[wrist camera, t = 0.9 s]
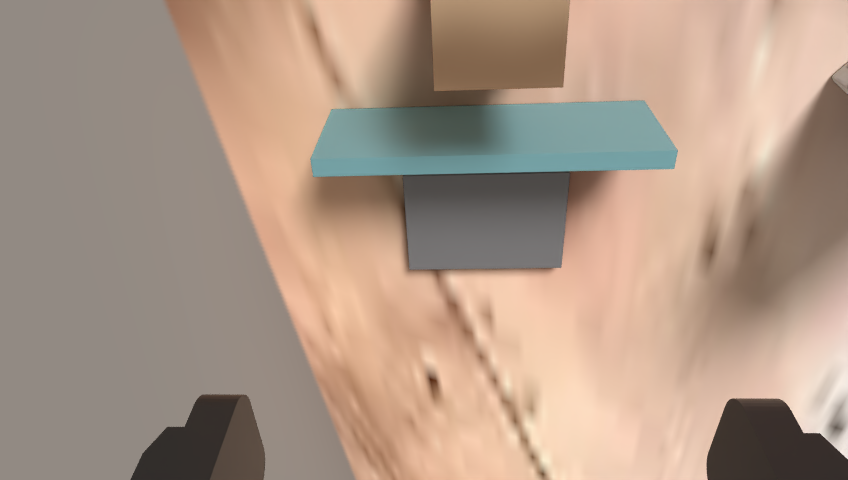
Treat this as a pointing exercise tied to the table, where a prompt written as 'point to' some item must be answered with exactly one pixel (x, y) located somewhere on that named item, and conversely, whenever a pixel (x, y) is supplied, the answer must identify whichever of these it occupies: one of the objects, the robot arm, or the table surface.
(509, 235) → the dark gray upright panel
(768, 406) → the robot arm
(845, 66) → the coffee box
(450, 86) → the wooden block
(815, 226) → the table surface
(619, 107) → the teal board
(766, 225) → the table surface
